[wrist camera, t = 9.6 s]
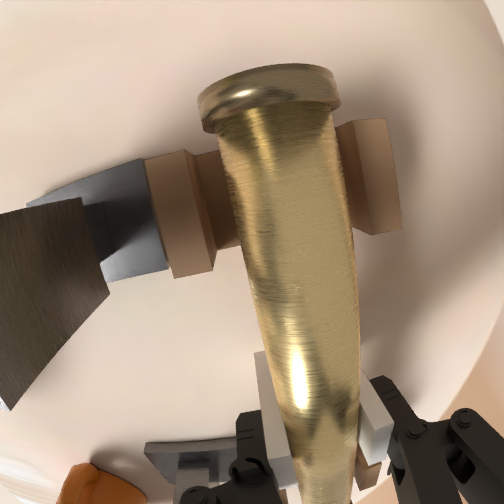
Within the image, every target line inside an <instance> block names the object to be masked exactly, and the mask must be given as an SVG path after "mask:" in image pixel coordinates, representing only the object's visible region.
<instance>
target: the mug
mask: <svg viewBox="0 0 504 504" xmlns="http://www.w3.org/2000/svg"><path fill="white" fill-rule="evenodd" d="M146 503H147V499H146V496H145V495H144V494H143V493H142V492H141V491H140V490H139V489H137V488H136V487H134V486H133V485H131V484H130V483H128V482H126V481H124V480H122V479H120V478H118V477H116V476H114V475H111V474H109V473H106V472H104V471H101V470H98V469H96V467H95V466H93V465H91V464H89V463H83V464H79V465H78V466H73V467H72V468H71V470H70V472H69V474H68V476H67V478H66V480H65V482H64V484H63V487H62V489H61V493H60V495H59V497H58V500H57V502H56V504H146Z"/></svg>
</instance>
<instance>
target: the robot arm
mask: <svg viewBox="0 0 504 504" xmlns="http://www.w3.org/2000/svg"><path fill="white" fill-rule="evenodd" d="M254 358H255V366H256V374H257V382H258V390H259V398H260V405H261V410H256V411H251V412H245V413H240V415H239V417H238V419H237V421H236V440H237V441H236V444H237V459H236V460H234V461H233V462H232V463H231V465H230V467H229V472H228V474H229V476H230V477H231V480H229V481H228V482H226V483H224V484H222V485H219V486H216V487H213V488H208V487H205V486H193V487H191V488H189V489H187V490H186V491H185V492H184V493H183V494H182V496H181V498H180V502H179V504H283V502H282V500H281V497H280V492H279V490H281V489H286V488H291V487H296V486H298V482H297V478H296V473H295V468H294V464H293V459H292V455H291V451H290V446H289V442H288V438H287V434H286V430H285V425H284V422H283V420H282V418H281V415H280V411H279V407H278V402H277V398H276V394H275V390H274V386H273V382H272V377H271V373H270V369H269V365H268V360H267V356H266V352H265V351H262V352H257V353H254ZM357 440H358V443H359V445H360V447H361V449H362V452H363V454H364V456H365V459H366V461H367V463H368V465H372V464H375V463H377V462H380V461H383V460H385V459H386V456H387V453H388V455H389V457H390V459H391V462H390V465H389V468H388V471H387V476H388V475H390V473H391V474H392V477H393V481H394V485H395V489H396V493H397V497H398V501H399V504H463V503H462V501H461V498H460V495H459V492H460V493H461V494H462V496H463V497H464V498H465V500H466V501H467V502H468V503H469V504H504V438H503V437H502V436H500V435H499V433H498V432H496V430H495V429H494V428H492V427H491V426H490V425H489V424H488V423H487V422H486V421H485V420H484V419H483V418H482V417H481V416H480V415H479V414H478V413H477V412H476V411H474V410H472V409H469V408H462V409H459V410H457V411H455V412H454V414H452V416H451V419H447V420H443V421H438V422H427V421H425V420H423V419H419V418H418V417H417V416H416V414H415V413H414V412H413V410H412V409H411V407H410V406H409V404H408V403H407V401H406V400H405V399H404V397H403V396H402V395H401V393H400V391H399V390H398V389H397V387H396V386H395V384H394V383H393V382H392V380H390V379H389V378H387V377H385V376H383V375H382V376H379V377H376V378H374V379H371V380H368V378H367V377H366V375H365V373H364V372H363V370H362V369H361V367H360V406H359V424H358V438H357ZM457 489H458V490H459V492H458V490H457Z"/></svg>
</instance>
